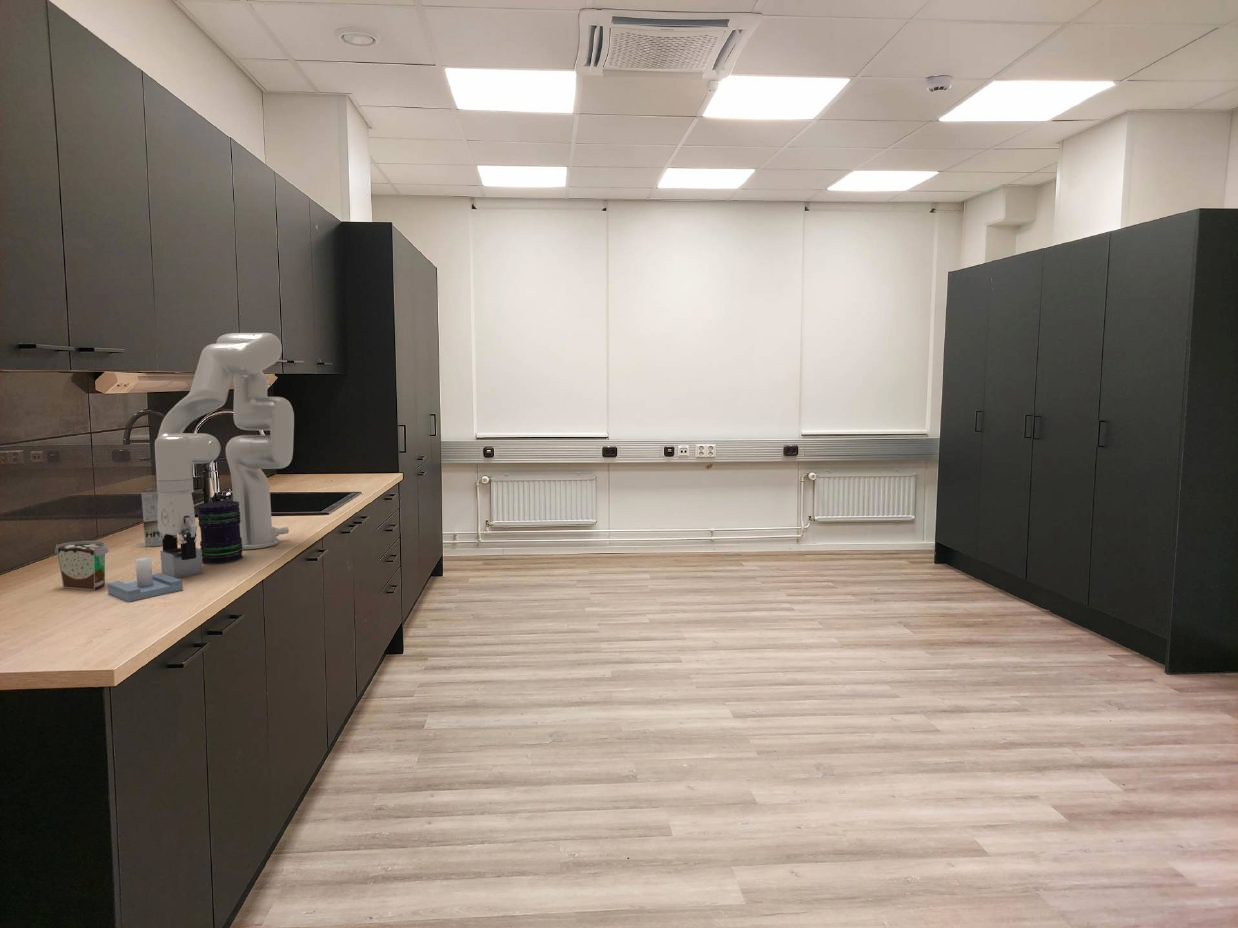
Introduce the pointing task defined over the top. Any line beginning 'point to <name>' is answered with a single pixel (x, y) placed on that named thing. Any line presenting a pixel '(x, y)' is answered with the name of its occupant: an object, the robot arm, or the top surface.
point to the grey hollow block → (180, 563)
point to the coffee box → (151, 517)
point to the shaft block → (145, 583)
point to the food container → (82, 564)
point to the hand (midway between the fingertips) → (179, 556)
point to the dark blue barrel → (220, 532)
